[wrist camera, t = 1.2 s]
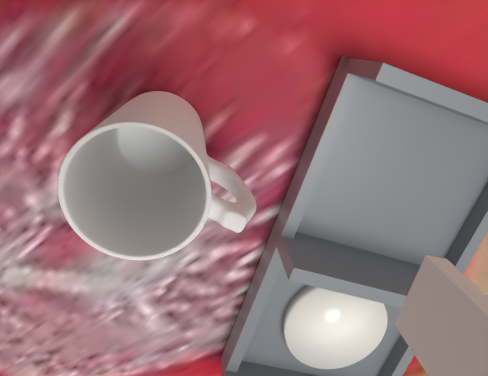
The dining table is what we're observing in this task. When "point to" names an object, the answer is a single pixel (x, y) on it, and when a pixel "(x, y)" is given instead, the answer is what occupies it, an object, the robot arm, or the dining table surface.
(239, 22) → the dining table surface
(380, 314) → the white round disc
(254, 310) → the rack
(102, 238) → the mug
